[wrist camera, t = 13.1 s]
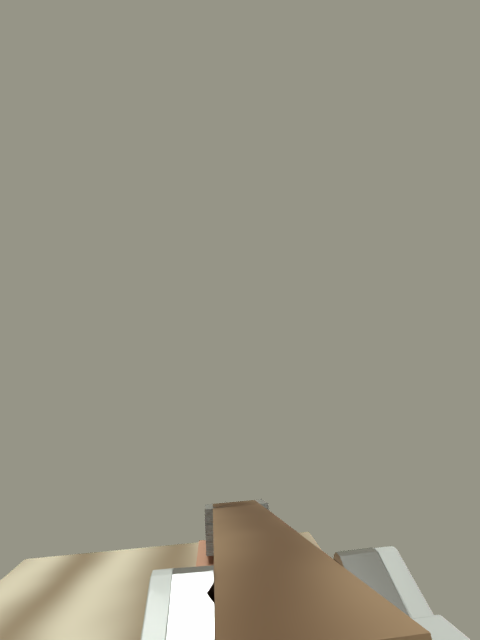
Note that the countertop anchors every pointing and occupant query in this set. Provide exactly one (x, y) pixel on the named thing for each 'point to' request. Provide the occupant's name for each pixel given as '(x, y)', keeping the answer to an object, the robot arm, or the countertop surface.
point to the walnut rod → (289, 584)
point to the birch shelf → (89, 592)
